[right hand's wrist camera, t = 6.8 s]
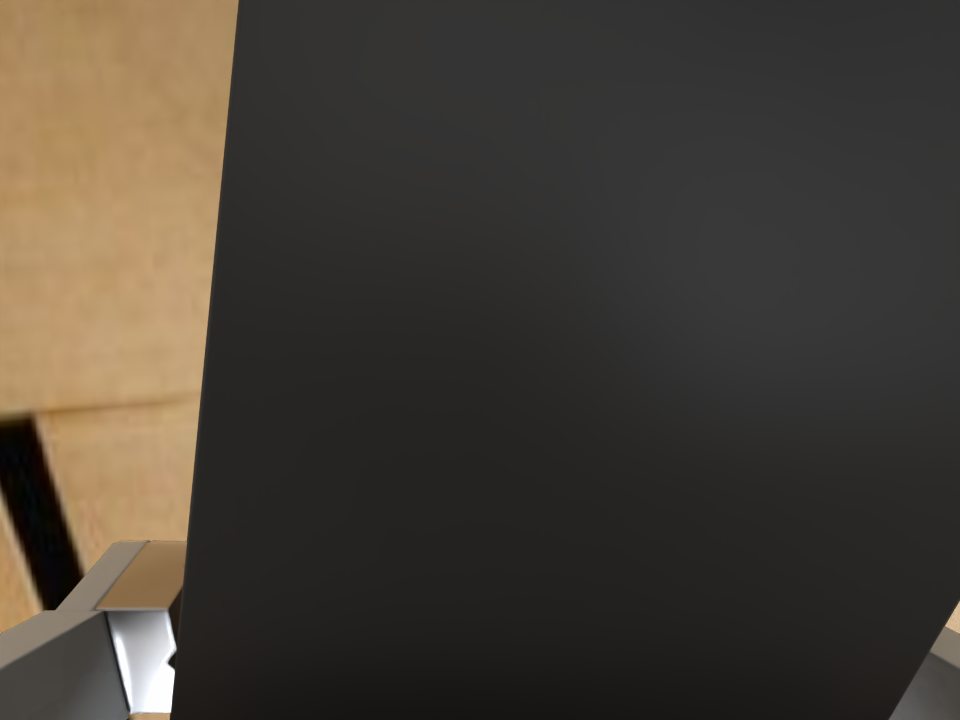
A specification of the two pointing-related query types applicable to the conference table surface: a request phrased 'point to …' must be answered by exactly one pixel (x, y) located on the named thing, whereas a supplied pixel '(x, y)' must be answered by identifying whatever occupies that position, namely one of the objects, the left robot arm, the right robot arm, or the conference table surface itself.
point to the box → (579, 362)
